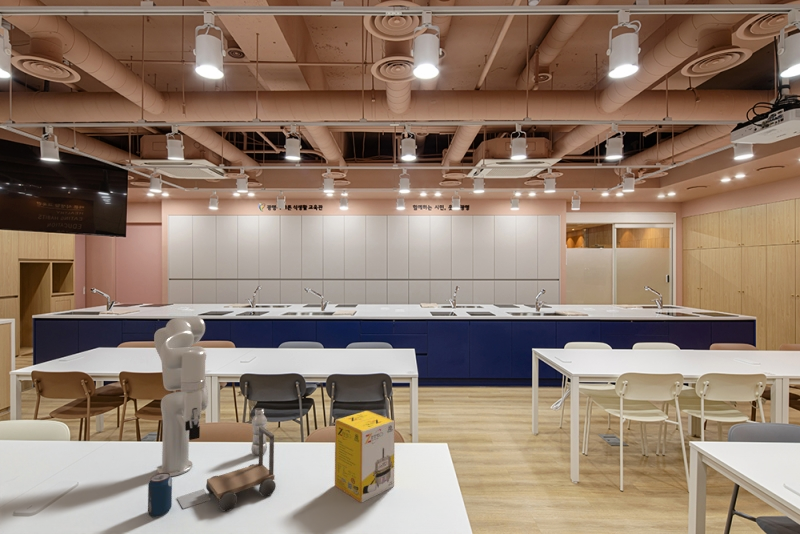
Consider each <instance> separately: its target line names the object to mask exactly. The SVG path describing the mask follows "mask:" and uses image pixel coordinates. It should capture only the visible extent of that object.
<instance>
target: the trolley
mask: <svg viewBox="0 0 800 534" xmlns="http://www.w3.org/2000/svg"><path fill="white" fill-rule="evenodd" d="M263 434H265V436H266V437H267V438H269V441H268V442H269V443H268V444H269V447H268V449H269V451H268V452H269V455H268V456H269V457H268V463H269V464H268V467H269V468H267V467H266V466H265V465H264V463H263V462H264V454H263ZM274 449H275V434H274V433H272V432H271V431H269V430H268V429H267V428H266V429H265V428H264V427H259V455H258V463H256V464H255V463H254V464H250V465H248V466H246V467H243V468H239V469H236V470H232V471H230V472H226V473H223V474H220V475H213V476H212V477H210V478H207V479H206V485H205V488H206V490H207V492H208V493H210V494H214V496H215V497H216V498H217V499H219V500H218V507H219V508H220V510H222V511H223V512H228V511H231V510H232V509H233V508H235V505H236V504H237V502H238V497H237V495H236V493H239V492H243V491H245V490H247V489H250V488H253V487H256V486H259V487H258V491H259V493H260V495H261V496H263V497H269V496H271V495H272V494H274V493H275V492H274V491H275V490H276V488H277V487H276V482H275V474H274V471H275V470H274V466H275V465H274V462H275V459H274V458H275V457H274V455H275V453H274V452H275V450H274Z"/></svg>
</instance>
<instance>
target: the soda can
mask: <svg viewBox="0 0 800 534" xmlns="http://www.w3.org/2000/svg"><path fill="white" fill-rule="evenodd" d="M172 478H173V477H172V476H170V474H169V473H159V474H158V473H156V474H154V475H153V476H151V477H150V481H149V482H148V486H147V488H148V489H147V492H148V493H147V513H148V515H149V516H150V517H151V518H159V517H163V516H165V515H166V514H168V513H169V512H170V510H171V508H172V505H173V504H172V500H173V499H172V498H173V496H172V494H173V479H172Z"/></svg>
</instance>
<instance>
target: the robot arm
mask: <svg viewBox="0 0 800 534" xmlns="http://www.w3.org/2000/svg"><path fill="white" fill-rule="evenodd" d="M205 332H206V323H205V321H204V319H203V318H202V317H199V316H187V317H176V318H171V319H169V321H168V322H167V323H166V325H165V327H162V328H159V329H157V330H156V331H155V333H154V336H153V337H154V338H153V340H154V347H155V350H156V352H157V354H158V356H159V358H160V361H161V371H162V372H161V374H162V382H163V387H164V389H165V390H166V391H170V392H171V393H167V394H166V395H164V396H163V397H162V398H161V400H160V410H161V411H160V412H161V417H162V451H161V452H162V453H161V456H162V459H161V460H162V461H161V462H162V463H161V466H159V467H158V468H157V474H159V473H169V474H170V476H171V477H175V476H180V475H182V474H184V473H187V472H188V471H190V470H191V469H192V468H193V464H194V463H193V462H192V461H191V460H189V455H190V454H189V451H190V450H189V449H190V448H189V447H190V443H189V442H190V441H192V440H198V439H200V435H201V434H200V432H201V431H200V430H201V426H200V419H201V417H202V412H203V411H205V410H207V408H208V406H209V396H208V388H207V387H208V386H207V380H206V359H207V351H206V350H205V348H204V347H203V346H198V345H196V344H197V343H199V342H200V340H201V339H202V337H203V336H204V334H205ZM192 345H195V346H192ZM173 391H176V392H173Z"/></svg>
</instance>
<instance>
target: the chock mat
mask: <svg viewBox="0 0 800 534" xmlns="http://www.w3.org/2000/svg"><path fill="white" fill-rule="evenodd" d="M176 499H177V500H176V501H178V503H179V505H180V507H181V509H182V510H185V509H188V508H190V507H191V508H192V507H194V506H198V505H199V504H200V505H201V504H202V503H205V501H206V502H208V500H209V501H211V500H212V499H211V497H210V496H209V494H208V493H207V491H206V490H205V489H204V488H202V489H199V490H196V491H194V492H190V493H186V494H184V495H180V496H177V497H176Z"/></svg>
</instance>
